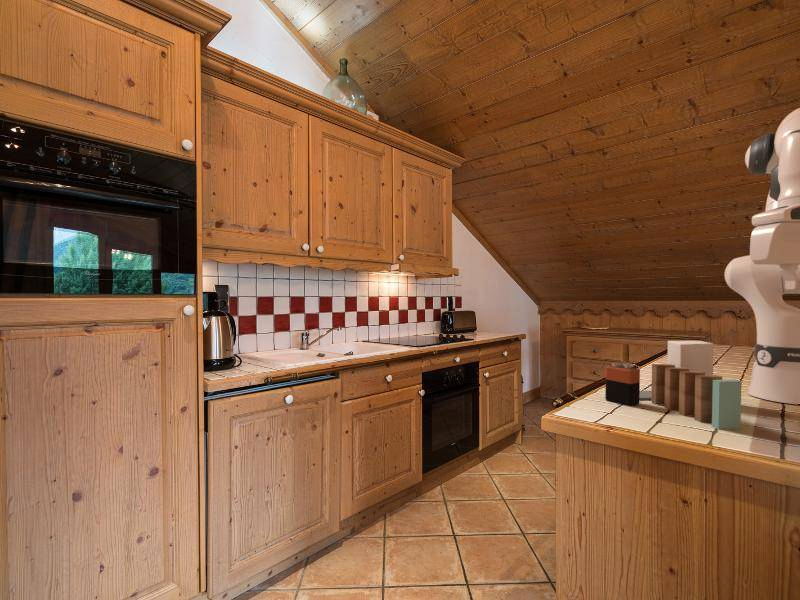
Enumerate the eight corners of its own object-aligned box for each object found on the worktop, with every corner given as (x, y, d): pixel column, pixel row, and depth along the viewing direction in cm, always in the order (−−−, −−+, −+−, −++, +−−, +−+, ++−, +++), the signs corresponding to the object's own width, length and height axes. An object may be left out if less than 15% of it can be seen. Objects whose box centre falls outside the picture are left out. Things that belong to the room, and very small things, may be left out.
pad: (650, 392, 114) (650, 390, 114) (668, 399, 107) (668, 397, 107) (620, 393, 113) (620, 391, 113) (636, 400, 106) (637, 397, 106)
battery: (630, 406, 100) (631, 366, 100) (604, 400, 106) (605, 362, 105) (640, 404, 102) (640, 365, 102) (614, 398, 108) (614, 361, 108)
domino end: (733, 426, 86) (734, 379, 86) (740, 428, 84) (741, 381, 84) (711, 426, 85) (712, 379, 85) (718, 429, 84) (719, 381, 83)
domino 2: (683, 407, 99) (684, 367, 99) (688, 409, 98) (689, 368, 97) (664, 408, 99) (665, 367, 99) (669, 410, 97) (670, 368, 97)
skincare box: (698, 397, 108) (699, 340, 108) (714, 404, 102) (716, 343, 101) (665, 396, 109) (666, 339, 109) (679, 403, 103) (680, 342, 102)
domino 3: (698, 413, 95) (699, 371, 94) (704, 415, 93) (705, 372, 93) (678, 413, 94) (679, 371, 94) (684, 415, 93) (685, 372, 92)
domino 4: (715, 419, 90) (716, 375, 90) (721, 421, 89) (722, 376, 88) (694, 419, 90) (695, 375, 90) (700, 422, 88) (701, 376, 88)
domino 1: (669, 402, 104) (670, 363, 103) (674, 404, 102) (675, 365, 102) (651, 403, 103) (652, 364, 103) (655, 404, 102) (656, 365, 101)
